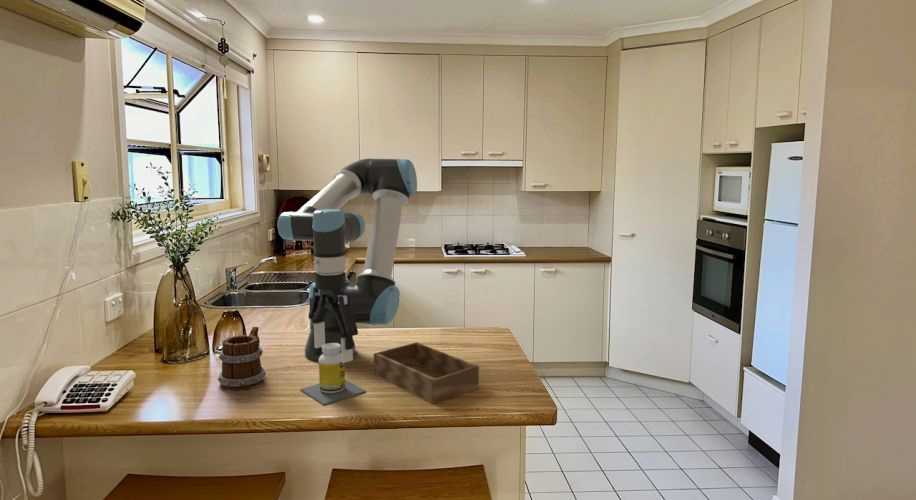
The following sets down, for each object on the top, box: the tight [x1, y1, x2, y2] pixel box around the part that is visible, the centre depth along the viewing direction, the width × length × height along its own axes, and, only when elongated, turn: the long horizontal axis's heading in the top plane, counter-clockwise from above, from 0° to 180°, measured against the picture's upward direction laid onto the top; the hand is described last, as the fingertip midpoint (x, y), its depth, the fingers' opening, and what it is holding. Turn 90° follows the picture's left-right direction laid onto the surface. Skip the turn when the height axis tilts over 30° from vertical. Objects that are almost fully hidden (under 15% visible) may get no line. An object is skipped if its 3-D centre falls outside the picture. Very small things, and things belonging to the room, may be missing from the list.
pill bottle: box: [318, 343, 346, 393], centre depth 141 cm, size 6×6×12 cm
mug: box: [217, 326, 267, 391], centre depth 147 cm, size 12×14×15 cm
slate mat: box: [299, 379, 367, 406], centre depth 141 cm, size 12×12×1 cm
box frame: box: [373, 341, 480, 405], centre depth 148 cm, size 26×15×6 cm, turn 42°
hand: (333, 353), depth 140 cm, fingers open, 13 cm apart
